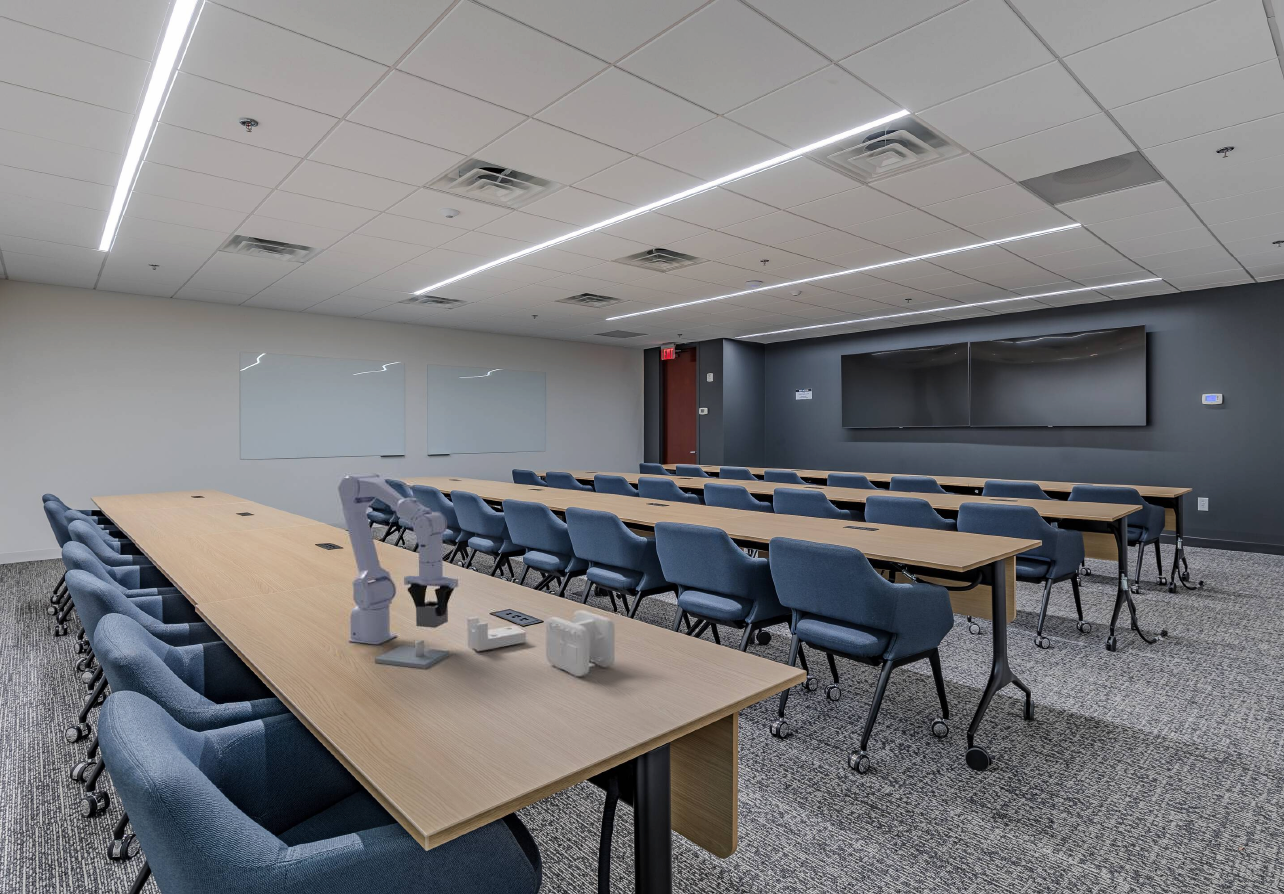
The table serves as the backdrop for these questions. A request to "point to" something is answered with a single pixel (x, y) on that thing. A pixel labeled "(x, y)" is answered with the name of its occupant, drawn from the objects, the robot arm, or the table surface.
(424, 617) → the dark grey hollow block
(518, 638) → the bracket
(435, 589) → the robot arm
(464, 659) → the table surface
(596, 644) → the cable organizer
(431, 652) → the plate with peg
